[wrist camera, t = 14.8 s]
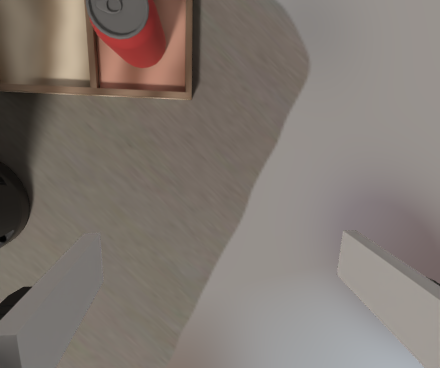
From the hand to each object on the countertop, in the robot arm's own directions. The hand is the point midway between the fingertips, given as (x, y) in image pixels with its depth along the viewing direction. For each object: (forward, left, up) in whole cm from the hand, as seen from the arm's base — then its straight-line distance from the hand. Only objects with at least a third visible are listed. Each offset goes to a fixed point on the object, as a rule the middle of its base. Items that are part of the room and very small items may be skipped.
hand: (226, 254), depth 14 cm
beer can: (-9, +17, -27) cm, 33 cm away
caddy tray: (-15, +17, -29) cm, 37 cm away
